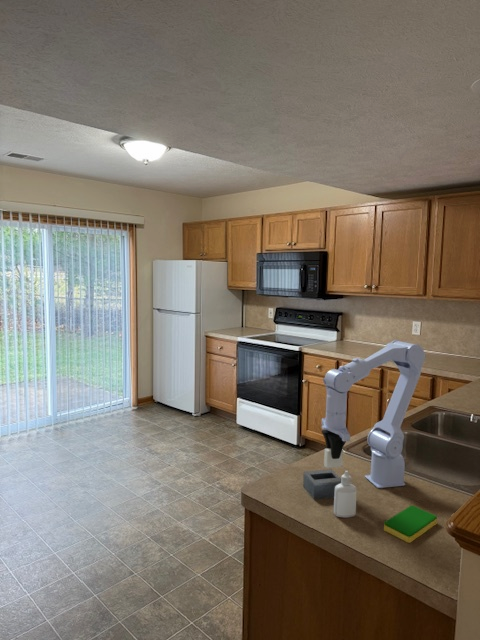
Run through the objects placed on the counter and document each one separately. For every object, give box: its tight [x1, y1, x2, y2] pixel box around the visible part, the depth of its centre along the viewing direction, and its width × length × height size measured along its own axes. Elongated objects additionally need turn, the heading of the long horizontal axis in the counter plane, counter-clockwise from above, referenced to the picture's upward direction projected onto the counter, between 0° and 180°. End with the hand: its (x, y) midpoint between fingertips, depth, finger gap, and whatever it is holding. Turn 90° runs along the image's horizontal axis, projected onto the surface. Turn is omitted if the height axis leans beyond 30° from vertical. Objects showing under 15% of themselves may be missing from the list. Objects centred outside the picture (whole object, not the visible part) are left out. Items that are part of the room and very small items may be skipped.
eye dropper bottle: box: [333, 470, 358, 518], centre depth 117 cm, size 4×6×12 cm
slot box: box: [302, 468, 341, 500], centre depth 129 cm, size 9×8×5 cm
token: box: [323, 448, 344, 469], centre depth 129 cm, size 5×2×5 cm, turn 104°
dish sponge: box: [383, 505, 438, 543], centre depth 112 cm, size 7×14×2 cm, turn 130°
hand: (333, 456), depth 129 cm, fingers closed on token, 2 cm apart
